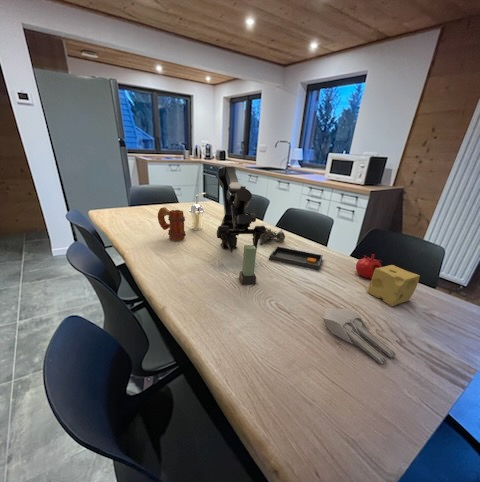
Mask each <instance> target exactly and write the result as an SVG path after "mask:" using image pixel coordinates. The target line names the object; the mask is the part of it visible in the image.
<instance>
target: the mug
mask: <svg viewBox="0 0 480 482" xmlns="http://www.w3.org/2000/svg"><path fill="white" fill-rule="evenodd" d="M166 216H168V219H167V220H168V222H169V223H168V222H167V221H166V219H165V218H166ZM157 221H158V224H159V226H160V227H161V228H162V230H163V231H167V230H168V231H167V232H168V233H167V234H168V237H169V239H170V240H171V241H174V242H178V241H183V240H184V239H185V237H186V236H187V234H186V230H185V221H186V217H185V216H184V211H183V210H181V209H175V210H174V209H171V210H169V209H168V208H167V207H166V206H165V207H164V206H163V207H160V208H159V209H158V212H157Z"/></svg>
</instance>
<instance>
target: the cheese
mask: <svg viewBox="0 0 480 482" xmlns="http://www.w3.org/2000/svg"><path fill="white" fill-rule="evenodd" d="M420 277H421V275H419V274H417V273H414V272H411V271H409V270H405V269H404V268H401V267H398V266H397V265H394V264H390V265H389V264H388V265H386V266H382V267H381V268H376V269H375V271H374V273H373V276H372V279H371V280H370V282H369V286H368V289H367V293H368V294H370V295H372V296H373V297H375V298H378V299H382V301H383V302H384V303H385V304H387V305H389V306H390V307H395V306H396V305H399V304H402V303H406V302H409V301H410V299H411V298H412V296H413V295H414V293H415V290H416V288H417V286H418V285H419V281H420Z"/></svg>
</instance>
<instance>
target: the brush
mask: <svg viewBox="0 0 480 482" xmlns="http://www.w3.org/2000/svg"><path fill="white" fill-rule="evenodd" d="M242 254H243V257H242V268H241V270H239V272H238V273H239V274H238V279H239V281H240V283H241V285H242V286H246V285H247V286H248V285H256V283H257V275H256V274H255V267H256V258H257V250H256V247H255V246H254V245H253V244H246V245H245V244H244V245H243V253H242Z"/></svg>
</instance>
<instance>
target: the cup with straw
mask: <svg viewBox="0 0 480 482" xmlns="http://www.w3.org/2000/svg"><path fill="white" fill-rule="evenodd" d="M206 194H207V193H206V192H201V193H197V194H196V195H195V204H193V205H192V206H191V207H190V208H189V210H188V212H189V214H190V218H191V225H192V230H195V231H199V230H201V229H202V223H203V216H204V214H205V210H204V208H203V206H202V205H201V204H198V196H202V195H206Z"/></svg>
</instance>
